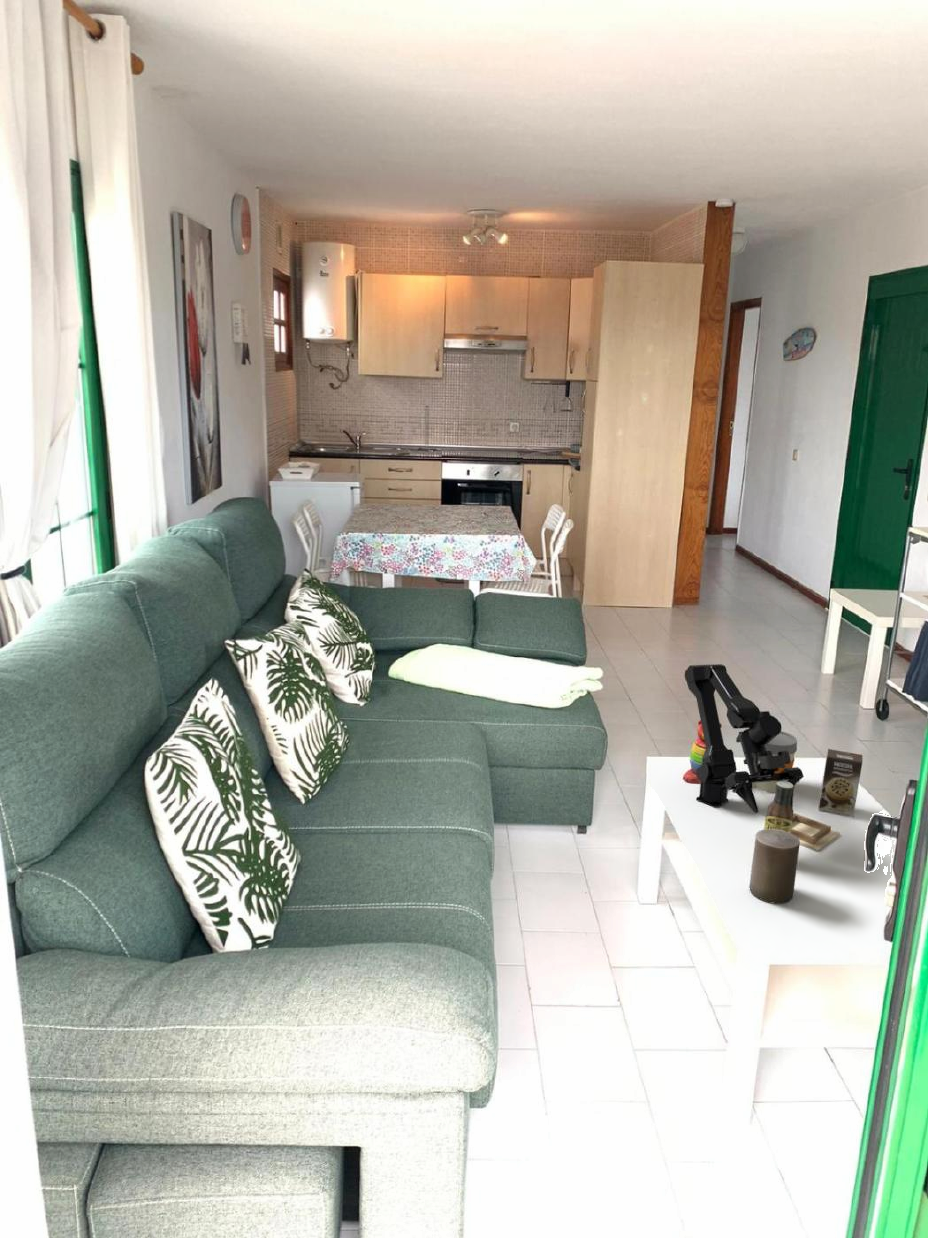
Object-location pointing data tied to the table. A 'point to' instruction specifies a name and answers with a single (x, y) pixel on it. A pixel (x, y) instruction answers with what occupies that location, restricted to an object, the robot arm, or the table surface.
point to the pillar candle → (774, 865)
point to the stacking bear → (696, 756)
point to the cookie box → (840, 782)
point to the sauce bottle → (780, 808)
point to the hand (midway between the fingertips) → (774, 811)
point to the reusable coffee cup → (776, 745)
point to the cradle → (812, 832)
